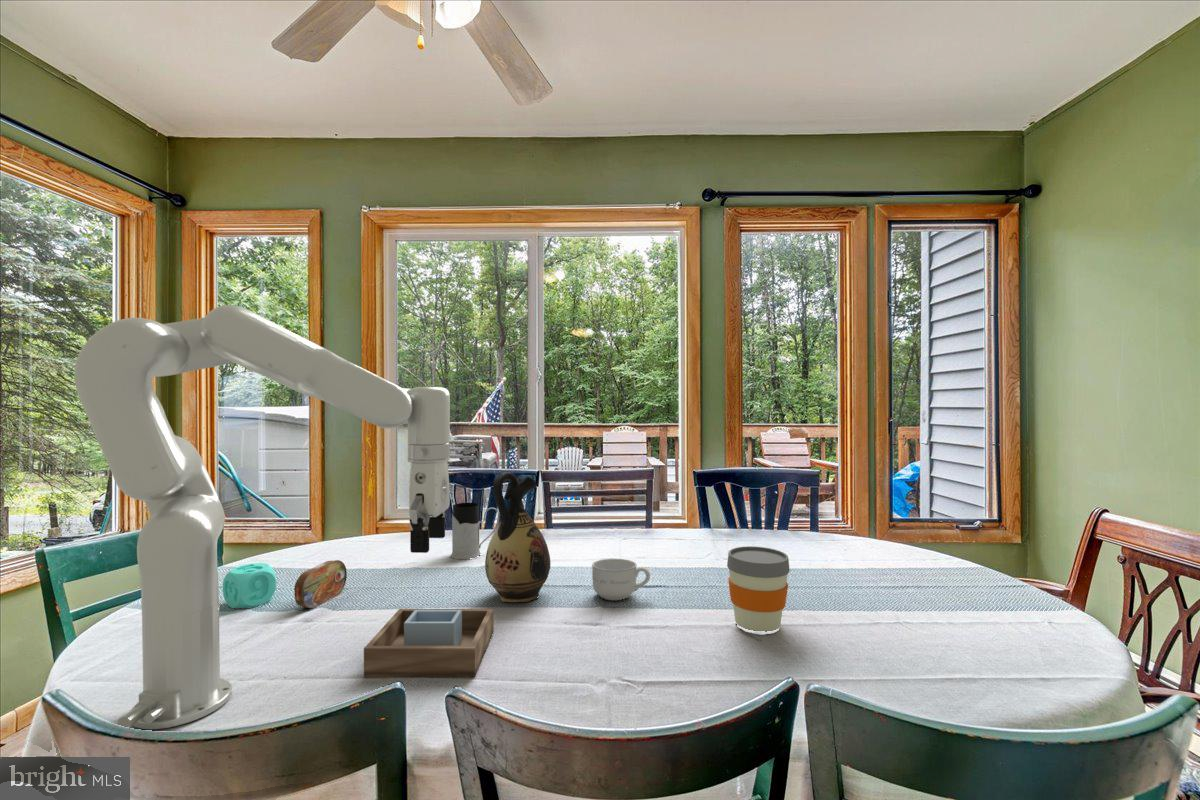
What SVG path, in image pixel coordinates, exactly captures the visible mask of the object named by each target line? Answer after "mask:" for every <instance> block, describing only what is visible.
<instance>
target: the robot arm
mask: <svg viewBox="0 0 1200 800" xmlns="http://www.w3.org/2000/svg"><path fill="white" fill-rule="evenodd" d="M232 363H235V364H237V365H240V366H241V367H243V368H245V369H248V370H250V371H252V372H254V373H257V374H259V375H260V376H262V377H265V378H267V379H269V380H272V381H274V382H275V383H278V384H280V385H283V386H284V387H286V388H289V389H290V390H293V391H295V392H298V393H300V394H302V395H304V396H307V397H311V398H315V399H317V400H320V401H322V402H325V403H327V404H330V406H331V405H332V406H334V407H336V408H338V409H341V411H342V410H343V411H344V412H347V413H350V414H352V415H354V416H356V417H358V418H360V419H362V420H364V421H365V422H367V423H368V422H369V423H370V424H373V425H375V426H377V427H379V428H381V429H385V430H386V429H387V430H390V429H391V430H392V429H397V428H400V427H401V426H403V425H404V424H407V462H408V463H410V476H409V489H408V491H409V492H408V493H409V494H408V495H409V496H408V504H409V505H408V508H409V512H408V513H409V517H410V519H409V524H410V525H409V531H410V533H409V535H410V537H409V538H410V542H409V543H410V545H409V546H410V547H409V548H410V549H409V550H410V552H411V553H415V554H416V553H417V554H421V553H424V554H425V553H426V554H428V553H429V551H430V539H444V538H445V537H446V511H447V510H448V509H449V507H450V504H451V503H450V501H451V500H450V499H451V498H450V495H451V494H450V477H449V475H450V474H449V473H450V472H449V464H448V462H449V461H450V460H451V457H450V456H451V453H450V452H451V451H450V450H451V449H450V447H451V444H450V441H451V440H450V439H451V433H450V431H451V427H450V426H451V424H450V423H451V421H450V420H451V394H450V392H449V390H448V389H447V388H445V387H441V386H440V387H439V386H416V387H412V388H411V387H410V388H408V387H407V388H406V387H401V386H399V385H397V384H395V383H393V382H391V381H390V380H387V379H385V378H383V377H381V376H379V375H378V374H375V373H373V372H371V371H369V370H367V369H365V368H363V367H361V366H359V365H357V364H355V363H353V362H352V361H348V359H345V358H344V357H343V358H342V357H341V356H339V355H337V354H336V353H334V352H332V351H331V350H329V349H326V348H325V347H323V346H322V345H319V344H317V343H315V342H313V341H312V340H309V339H307V338H305V337H303V336H301V335H299V334H297V333H295V332H294V331H292V330H289V329H287V328H285V327H283V326H281V325H279V324H277V323H276V322H273V321H271V320H269V319H267V318H265V317H263V316H262V315H259V314H257V313H256V312H253V311H251V310H250V309H248V308H244V307H241V306H238V305H236V304H235V305H233V304H225V305H220V306H216V307H215V308H213V309H211V310H210V311H209V312H208V313H206V315H205V316H204V317H200V318H199V317H198V318H194V319H189V320H183V321H182V320H181V321H176V322H168V323H161V322H158V321H156V320H154V319H149V318H145V317H128V318H127V317H126V318H122V319H119V320H114V321H113V322H110V323H108V324H107V325H105V326H103V327H102V328H100V329H99V330H98V331H96V332H95V333H94V334H93V335H91V336H90V338H89V339H87V341H86V342H85V343H84V345H83V346H82V348H81V349H80V351H79V353H78V355H77V358H76V360H75V365H74V370H73V373H74V378H73V379H74V385H75V389H76V392H77V395H78V398H79V401H80V404H81V405H82V408H83V410H84V412H85V414H86V416H87V419H88V421H89V424H90V425H91V428H92V429H93V430H92V431H93V433H94V435H95V438H96V440H97V441H96V442H98V445H99V447H100V449H101V451H102V454H103V455H104V458H105V460H106V462H107V465H108V467H109V469H110V472H111V474H112V476H113V479H114V482H115V484H116V486H117V487H118V489H119V490H120V491H121V492H122V493H123V494H124V495H126V496H127V497H128V498H131V499H133V500H136V501H137V500H138V501H142V502H144V503H145V506H146V508H147V511H148V513H149V514H150V517H148V519H147V520H146V521H145V523H144V524H143V526H142V528H141V530H140V532H139V535H138V537H137V542H136V544H137V545H136V558H137V559H136V560H137V565H138V566H137V567H138V571H139V572H138V573H139V581H140V594H141V595H140V597H141V600H140V601H141V621H142V622H141V631H142V632H141V638H142V641H141V642H142V646H141V647H142V691H141V692H140V693H139V694H138V702H137V703H136V704H134V705H133V707H132V708H131V709H130V710H129V712H127V713H125V714H123V715H122V716H121V717H119V718H118V719H117V722H116V725H117V724H118V725H121V726H124V727H130V728H132V727H135V728H137V729H142V730H161V729H168V728H173V727H177V726H181V725H186V724H187V723H191V722H193V721H196V720H200V719H202V718H203V717H205V716H208V715H209V714H212V713H213V712H215V711H216V710H218V709H220V708H221V707H222V706H224V704H225V703H227V702H228V700H229V699H230V698H231V696H232V692H233V691H232V689H233V688H232V684H231V682H230V681H229V680H226V679H224V678H221V661H220V660H221V659H220V655H221V654H220V653H221V651H220V647H221V646H220V596H219V595H220V594H219V593H220V591H219V589H220V588H219V587H220V586H219V585H220V584H219V569H218V540H219V538H220V535H221V534H222V531H223V529H224V527H225V520H226V517H225V516H226V515H225V511H224V508H223V505H222V503H221V501H220V498H219V495H218V493H217V491H216V489H215V488H216V487H215V485H214V484H213V481H212V479H211V476H210V474H209V471H208V470H207V468H206V466H205V465H206V464H205V463H204V461H203V458H202V457H201V455H200V453H199V451H198V450H197V448H196V447H195V446H194V444H192V443H191V442H190V441H189V440H187V439H185V438H183V437H181V436H179V435H176V434H175V433H174V431H173V428H172V426H171V425H170V422H169V420H168V418H167V415H166V411H165V409H164V407H163V404H162V403H161V401H160V399H159V397H158V396H157V394H156V392H155V389H154V387H153V377H155V378H156V377H157V378H159V377H168V376H174V375H178V374H183V373H188V372H193V371H198V370H199V371H200V370H204V369H210V368H214V367H220V366H224V365H228V364H232ZM423 519H424V520H423Z"/></svg>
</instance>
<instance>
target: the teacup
mask: <svg viewBox="0 0 1200 800" xmlns="http://www.w3.org/2000/svg"><path fill="white" fill-rule="evenodd" d="M637 566H638V564H637V563H636V561H632V560H630V559H626V558H625V559H624V558H605V559H603V558H602V559H598V560H596V561H593V562H592V564H591V567H592V587H593V590H594V592H595V593H596V594H597V595H598V596H600V597H601V599H603V598H604V600H608V601H623V600H626V599H628V598H629V597H630V596H631V595H632V594H634V592H637V591H638V590H639V588H641V587H644V586H645V585H647V583H648V582H649V581H650V579H651V573H650V571H649V569H648V568H647V567H645V566H639V567H637ZM640 572H643V573H644V574H645V579H644V580H642V581H640V582H637V577H638V576H639V573H640ZM625 598H626V599H625ZM622 599H623V600H622Z"/></svg>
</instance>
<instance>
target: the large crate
mask: <svg viewBox="0 0 1200 800" xmlns="http://www.w3.org/2000/svg"><path fill="white" fill-rule="evenodd" d="M415 610H462V642H461V644H460V646H404V623H405V621H406V620H407V619H408V618H409V617H410V615H411V614H412V613H413V612H414V611H415ZM494 629H495V627H494V608H399V609H398V610H397V611H396V612H395V613H394V614H393V616H392V617H391V618H390V619H388V621H387V622H386V623H385V624H384V626H383V627H382V628H381V629H380V630H379V631H377V633H376V634H375V636H374V637H372V639H370V641H369V642H368V643H367V645H365V646H364V648H363V678H476V676H477V674H478V671H479V669H480V666H481V664H482V662H483V660H484V657H485V655H486V652H487V650H488V648H487V647H489V645H488V644H490V643H491V641H490V639H491V640H492V638H493V636H492V634H493V632H494V633H495V631H494ZM493 635H494V634H493ZM491 637H492V638H491ZM489 642H490V643H489ZM486 649H487V650H486ZM484 654H485V655H484ZM482 659H483V660H482Z"/></svg>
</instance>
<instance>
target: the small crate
mask: <svg viewBox="0 0 1200 800" xmlns="http://www.w3.org/2000/svg"><path fill="white" fill-rule="evenodd" d="M461 642H462V610H415V611H414V612H413V613H412V614H411V615H410V617H409V618H408V619H407V620H406V621H405V623H404V646H460V644H461Z"/></svg>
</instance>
